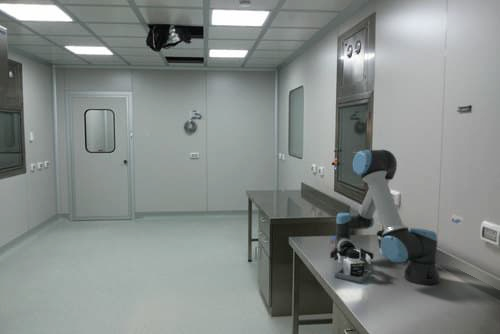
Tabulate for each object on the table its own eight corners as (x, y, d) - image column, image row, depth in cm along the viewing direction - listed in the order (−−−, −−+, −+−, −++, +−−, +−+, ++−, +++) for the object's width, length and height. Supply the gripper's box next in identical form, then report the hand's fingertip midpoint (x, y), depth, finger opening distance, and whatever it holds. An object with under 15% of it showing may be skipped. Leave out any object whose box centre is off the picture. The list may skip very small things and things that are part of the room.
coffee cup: (392, 250, 234) (393, 230, 233) (399, 256, 223) (400, 234, 222) (373, 250, 234) (374, 229, 233) (379, 256, 223) (379, 234, 222)
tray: (371, 276, 192) (371, 270, 192) (360, 283, 182) (360, 278, 182) (346, 270, 200) (346, 265, 200) (334, 277, 190) (334, 272, 190)
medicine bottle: (350, 278, 187) (350, 252, 186) (342, 273, 194) (343, 248, 193) (364, 277, 189) (364, 251, 188) (356, 272, 195) (357, 247, 194)
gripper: (370, 255, 208) (382, 269, 187) (321, 254, 209) (327, 268, 188) (371, 240, 207) (382, 253, 186) (322, 240, 209) (327, 252, 187)
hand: (355, 260), depth 187 cm, fingers open, 13 cm apart
